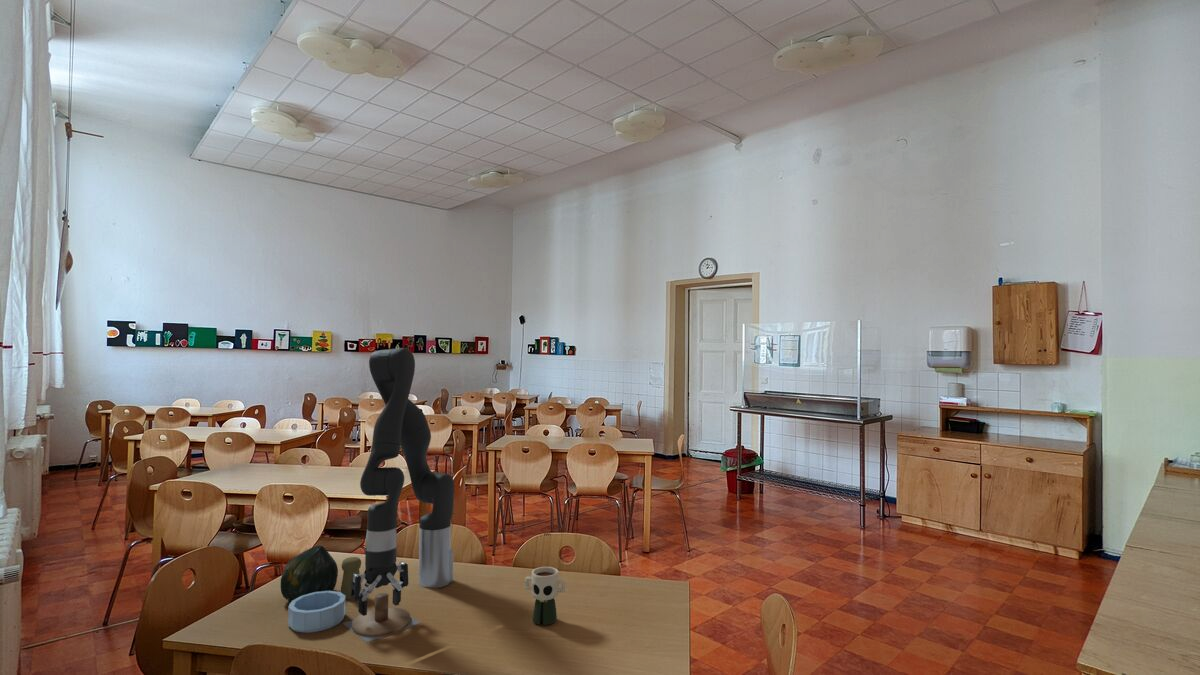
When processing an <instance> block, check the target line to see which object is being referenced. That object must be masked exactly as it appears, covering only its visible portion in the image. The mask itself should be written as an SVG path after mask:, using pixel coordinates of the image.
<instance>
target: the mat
mask: <svg viewBox="0 0 1200 675" xmlns="http://www.w3.org/2000/svg"><path fill="white" fill-rule="evenodd" d="M392 608H397V607H396V606H392ZM353 620H354V619H352V620H348V621H345V622H343V623H342V624H343V625H344V626H345V627H346V628H347V629H349V630H350V631H352V632H353V630H352V622H353ZM419 624H421V622H420V621H417V620H416V619H415V618H413V617H411V616H410V622H409V624H408V625H407V626H406V627H404V628H403V629H401V630H399V631H397V632H394V633H395V634H396V633H398V632H400V631H403V630H406V629H408V628H411V627H414V626H417V625H419ZM394 633H391V634H394ZM354 634H355V635H356V636H358V637H359V638H360V639H361V640H363V641H364V642H365V643H369V642H372V641H375V640H378V639H381V638H383V637H386V636H389V635H391V634H387V635H382V636H362V635H358V634H356V633H354Z"/></svg>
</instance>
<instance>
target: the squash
mask: <svg viewBox="0 0 1200 675" xmlns="http://www.w3.org/2000/svg"><path fill="white" fill-rule="evenodd" d="M338 575H339V568H338V565H337V562H336V560H335V559H334V558H333V556H332V555H331V554H330V553H329V551H328V550H327V549H326V547H325V546H324V545H321V544H317V545H315V546H313V547H310V548H308V549H306V550H304V551H303V552H301V553H299V554H298V555H296V556H294V557H292V558H291V559H290V560H289V561H288V562H287V563H286V566H285V567H284V569H283V573H282V575H281V577H280V591H281V595H282V596H283V598H285V599H286V600H287V601H293V600H295V599H296V598H298V597H300V596H303V595H306V594H310V593H313V592H321V591H334V590H335V588H336V585H337V582H338V581H337V580H338Z"/></svg>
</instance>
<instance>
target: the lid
mask: <svg viewBox="0 0 1200 675" xmlns="http://www.w3.org/2000/svg"><path fill="white" fill-rule="evenodd" d="M392 607H393V606H392ZM392 607H389V594H388V593H386V592H385V593H378V594H376V595H375V596H374V609H372V610H371V609H370V610H367V615H365V616H363V615H361V614H359V615H357V616H356V617H355V618H354V619H352V620H353V622H352V630H353V631H352V633H354V634H355V633H356V634H355V635H357V634H358V635H362V636H382V635H387V634H389V635H391V633H392V634H394V632H395V633H398V632H400V631H402V630H401V629H403V628H404V627H406V626H407V625H408V624H409V622H410V617H411V614H410V612H409V611H407V609H403V608H401V607H396V608H392ZM399 630H400V631H399ZM403 630H404V629H403ZM397 631H398V632H397ZM358 635H357V636H358ZM387 636H388V635H387Z"/></svg>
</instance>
